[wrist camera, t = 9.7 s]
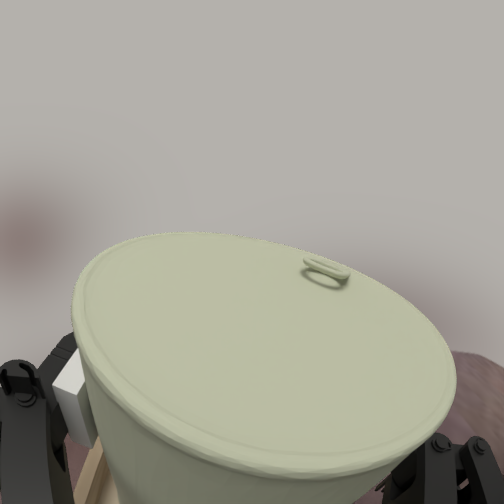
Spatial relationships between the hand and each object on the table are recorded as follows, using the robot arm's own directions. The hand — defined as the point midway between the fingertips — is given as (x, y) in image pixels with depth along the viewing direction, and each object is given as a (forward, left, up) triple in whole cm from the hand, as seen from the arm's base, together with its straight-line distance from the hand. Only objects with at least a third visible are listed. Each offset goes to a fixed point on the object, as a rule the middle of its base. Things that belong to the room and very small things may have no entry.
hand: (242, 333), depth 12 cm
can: (0, +5, -7) cm, 9 cm away
